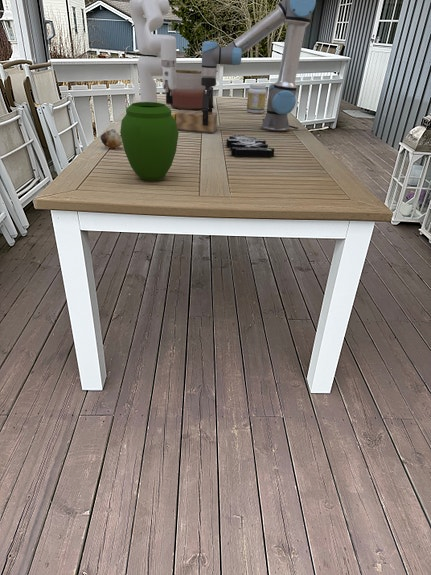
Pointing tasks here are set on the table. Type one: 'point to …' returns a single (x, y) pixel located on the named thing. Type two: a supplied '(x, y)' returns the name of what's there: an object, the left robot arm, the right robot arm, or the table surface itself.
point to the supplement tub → (256, 98)
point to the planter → (188, 90)
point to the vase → (149, 139)
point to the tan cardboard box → (196, 121)
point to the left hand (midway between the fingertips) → (169, 103)
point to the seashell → (111, 139)
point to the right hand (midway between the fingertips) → (207, 123)
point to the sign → (248, 147)
